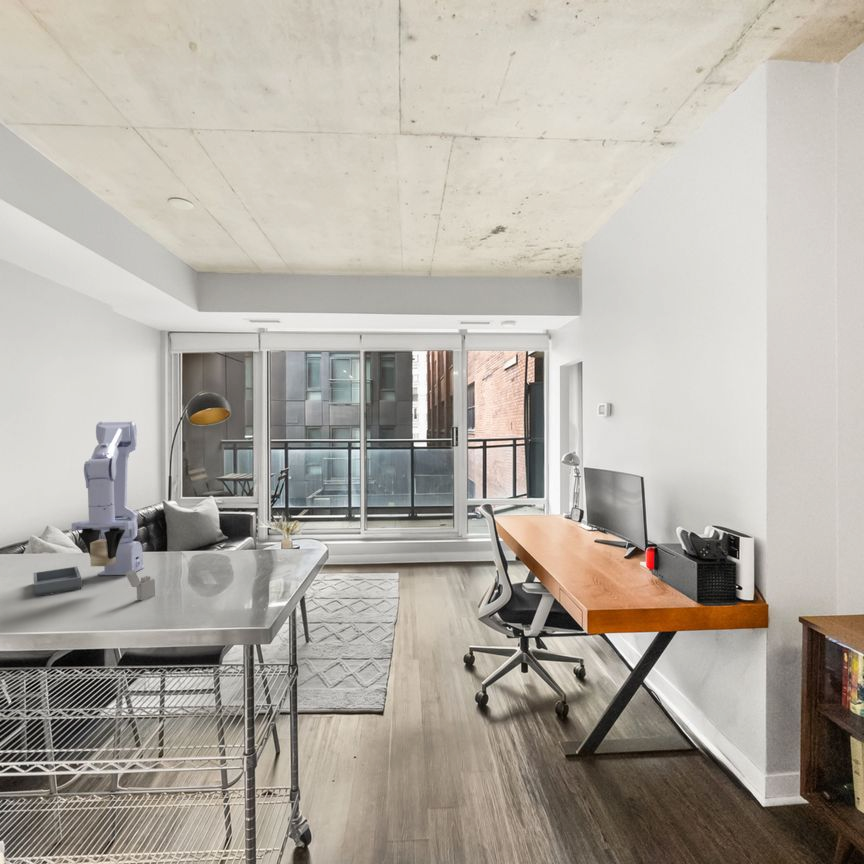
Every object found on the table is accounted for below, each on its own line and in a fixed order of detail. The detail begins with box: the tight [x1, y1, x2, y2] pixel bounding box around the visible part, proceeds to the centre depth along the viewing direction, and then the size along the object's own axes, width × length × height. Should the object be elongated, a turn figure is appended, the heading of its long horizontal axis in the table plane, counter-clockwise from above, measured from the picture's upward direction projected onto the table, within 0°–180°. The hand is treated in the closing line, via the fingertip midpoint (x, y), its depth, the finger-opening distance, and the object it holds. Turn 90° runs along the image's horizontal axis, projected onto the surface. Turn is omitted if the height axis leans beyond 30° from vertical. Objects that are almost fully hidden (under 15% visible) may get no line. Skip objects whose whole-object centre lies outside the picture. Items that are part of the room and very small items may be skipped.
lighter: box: [124, 570, 156, 601], centre depth 133 cm, size 7×2×8 cm, turn 160°
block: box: [89, 539, 116, 567], centre depth 139 cm, size 4×4×6 cm
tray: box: [33, 566, 83, 598], centre depth 145 cm, size 10×14×3 cm
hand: (103, 557), depth 140 cm, fingers closed on block, 4 cm apart
